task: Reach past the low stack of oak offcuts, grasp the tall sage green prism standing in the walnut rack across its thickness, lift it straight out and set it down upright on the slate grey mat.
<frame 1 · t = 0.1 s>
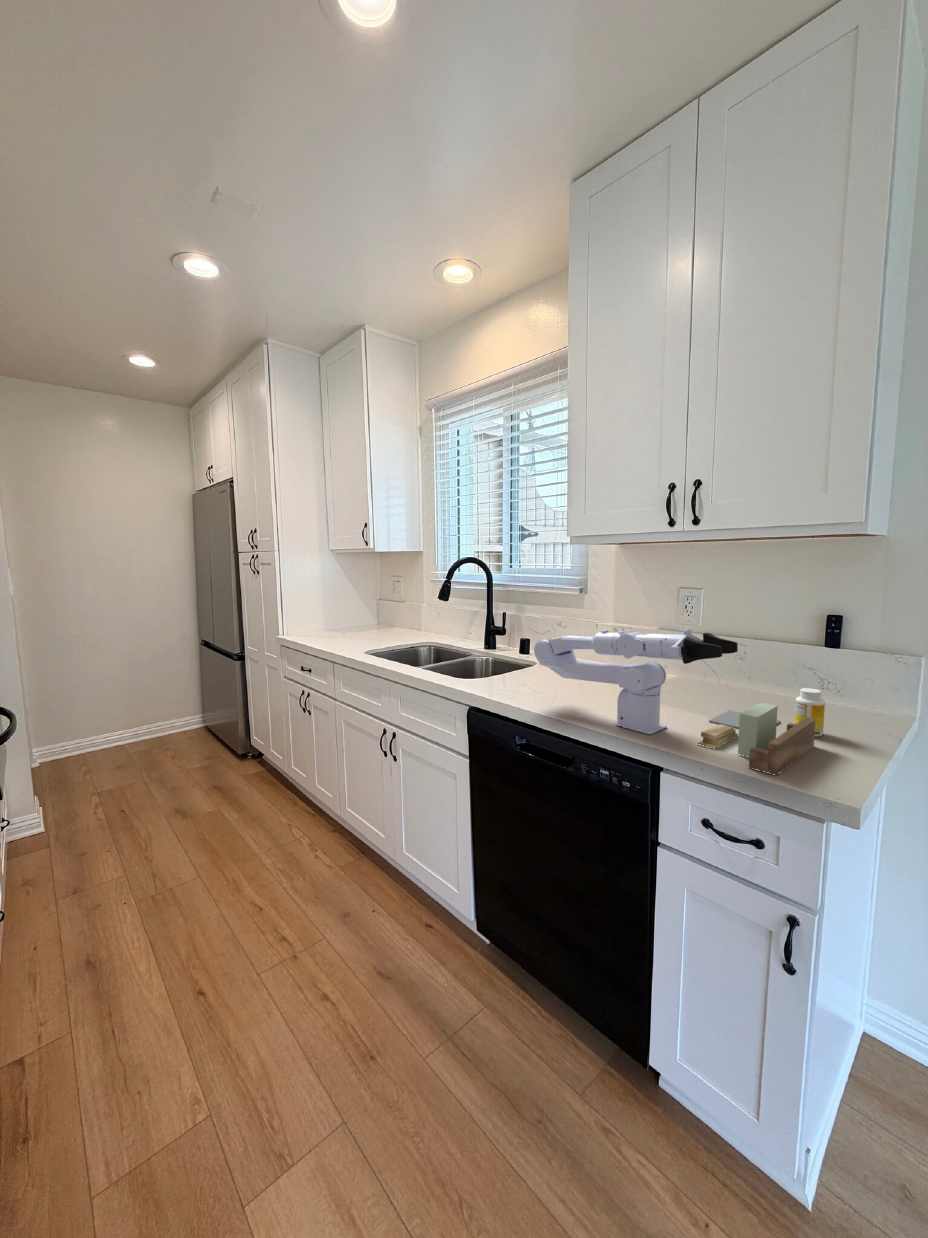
hand: (729, 649, 107), 22 cm above the countertop, tool horizontal, fingers open, 7 cm apart
supplement bottle: (808, 734, 117), on the countertop
slate mat: (744, 722, 126), on the countertop
offcut stack: (718, 742, 114), on the countertop
tall sage green prism: (757, 750, 108), on the countertop
walnut rack: (791, 759, 103), on the countertop
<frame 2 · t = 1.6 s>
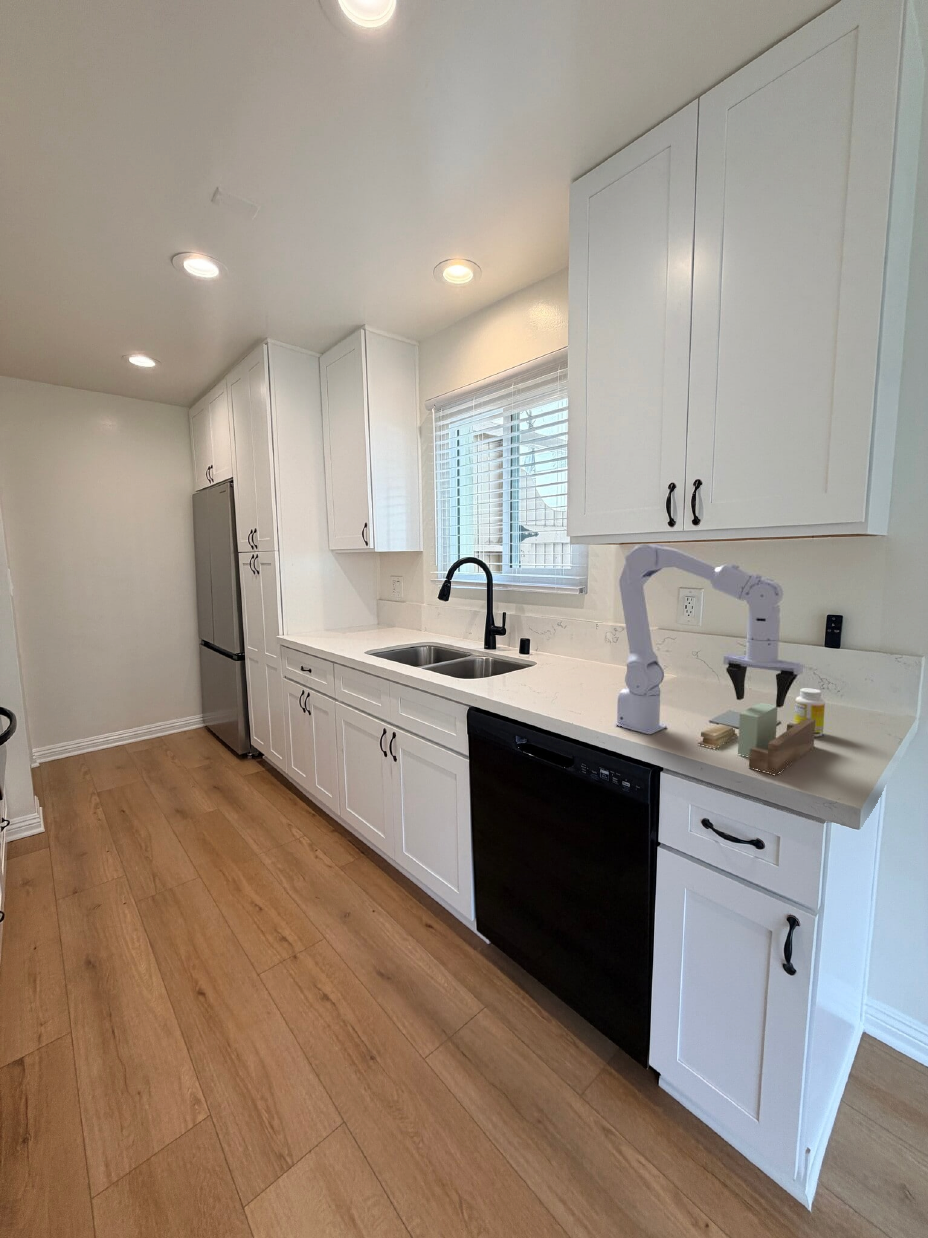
hand: (759, 702, 107), 10 cm above the countertop, tool pointing down, fingers open, 7 cm apart
nothing on the countertop moved.
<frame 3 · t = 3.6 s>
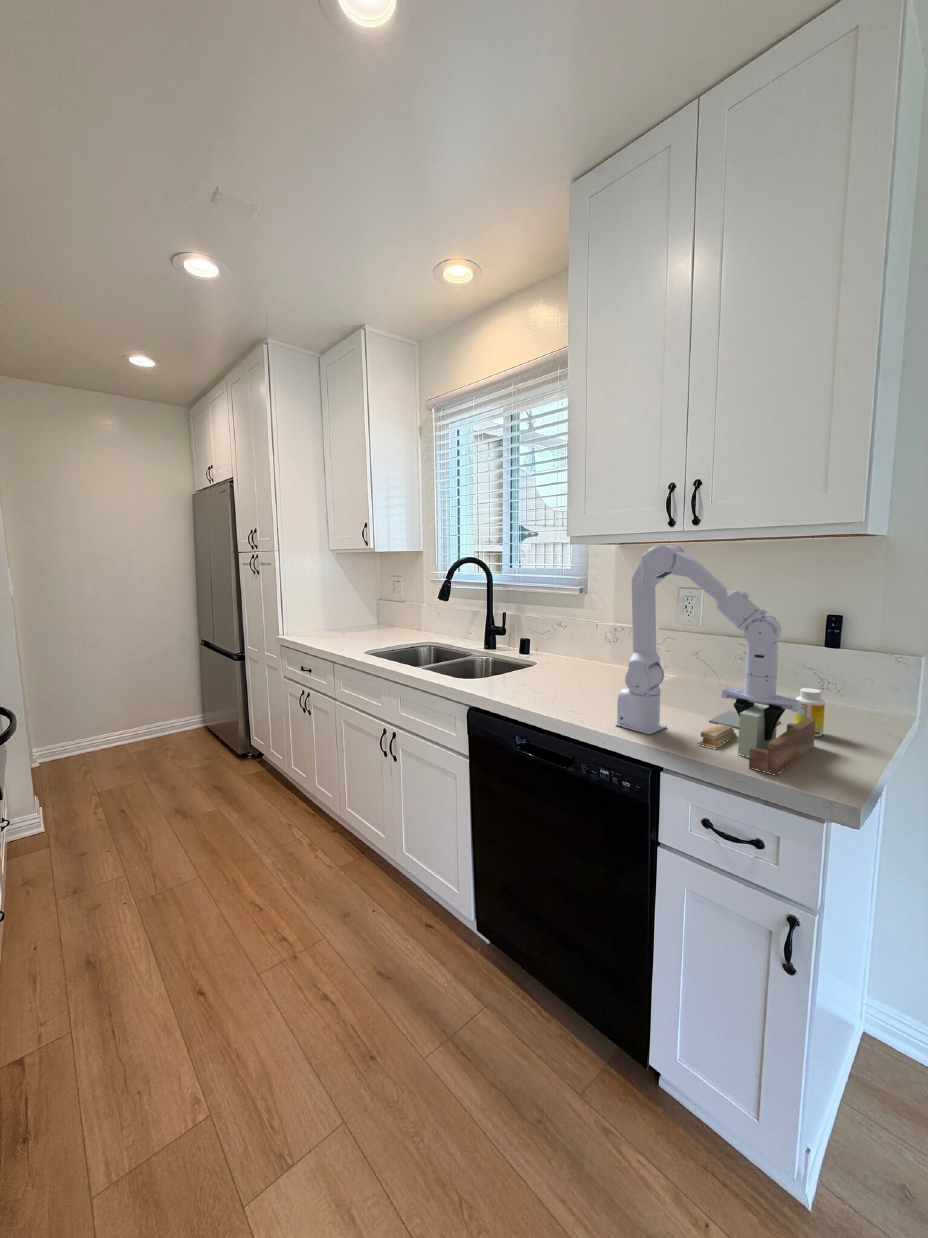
hand: (757, 737, 108), 3 cm above the countertop, tool pointing down, fingers closed on tall sage green prism, 3 cm apart
tall sage green prism: (757, 750, 108), on the countertop, touching gripper
everything else where it was.
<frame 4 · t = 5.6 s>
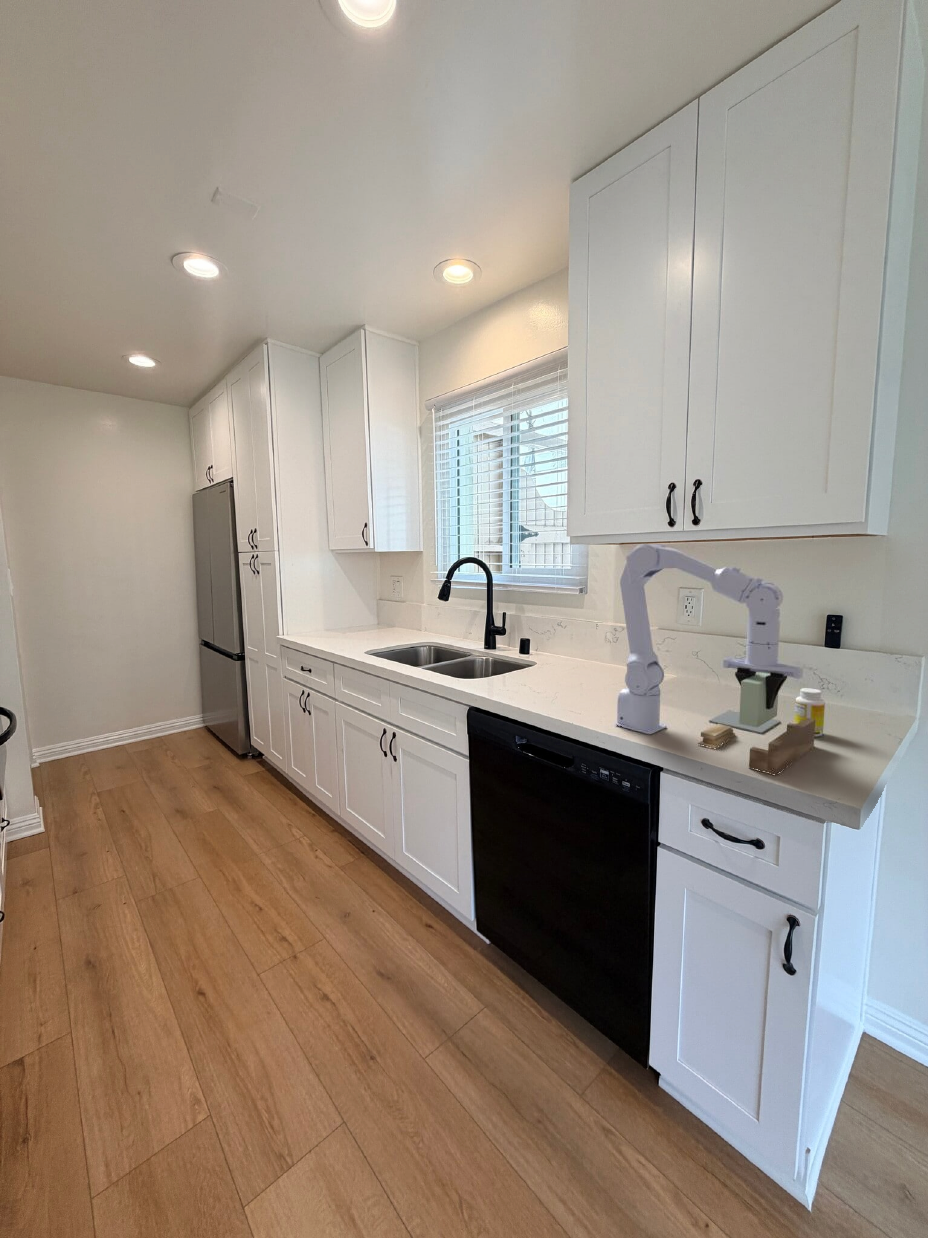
hand: (759, 706, 107), 10 cm above the countertop, tool pointing down, fingers closed on tall sage green prism, 3 cm apart
tall sage green prism: (758, 719, 107), point 7 cm above the countertop, touching gripper
everything else where it was.
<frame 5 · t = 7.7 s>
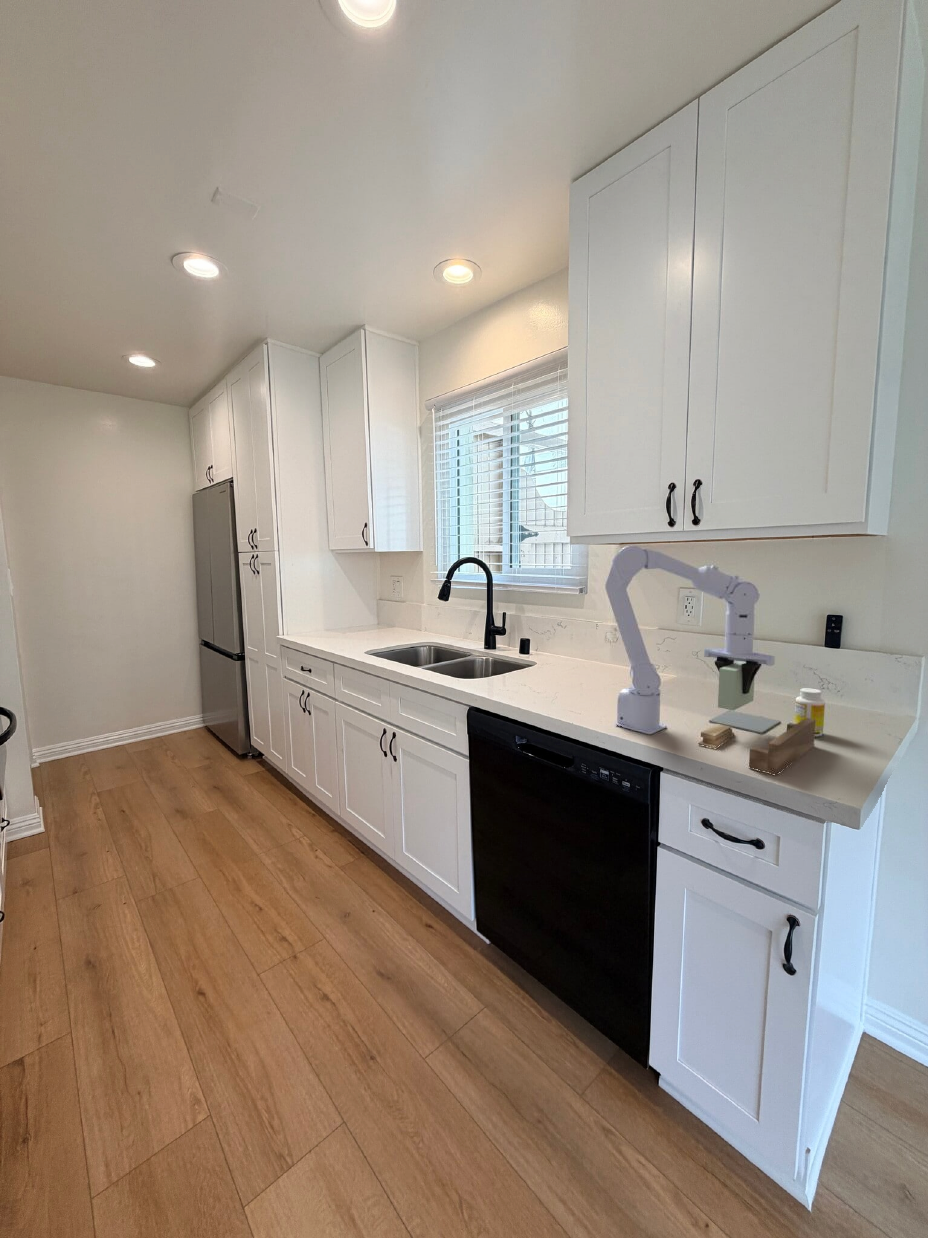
hand: (736, 691, 117), 10 cm above the countertop, tool pointing down, fingers closed on tall sage green prism, 3 cm apart
tall sage green prism: (735, 703, 118), point 7 cm above the countertop, touching gripper
everything else where it was.
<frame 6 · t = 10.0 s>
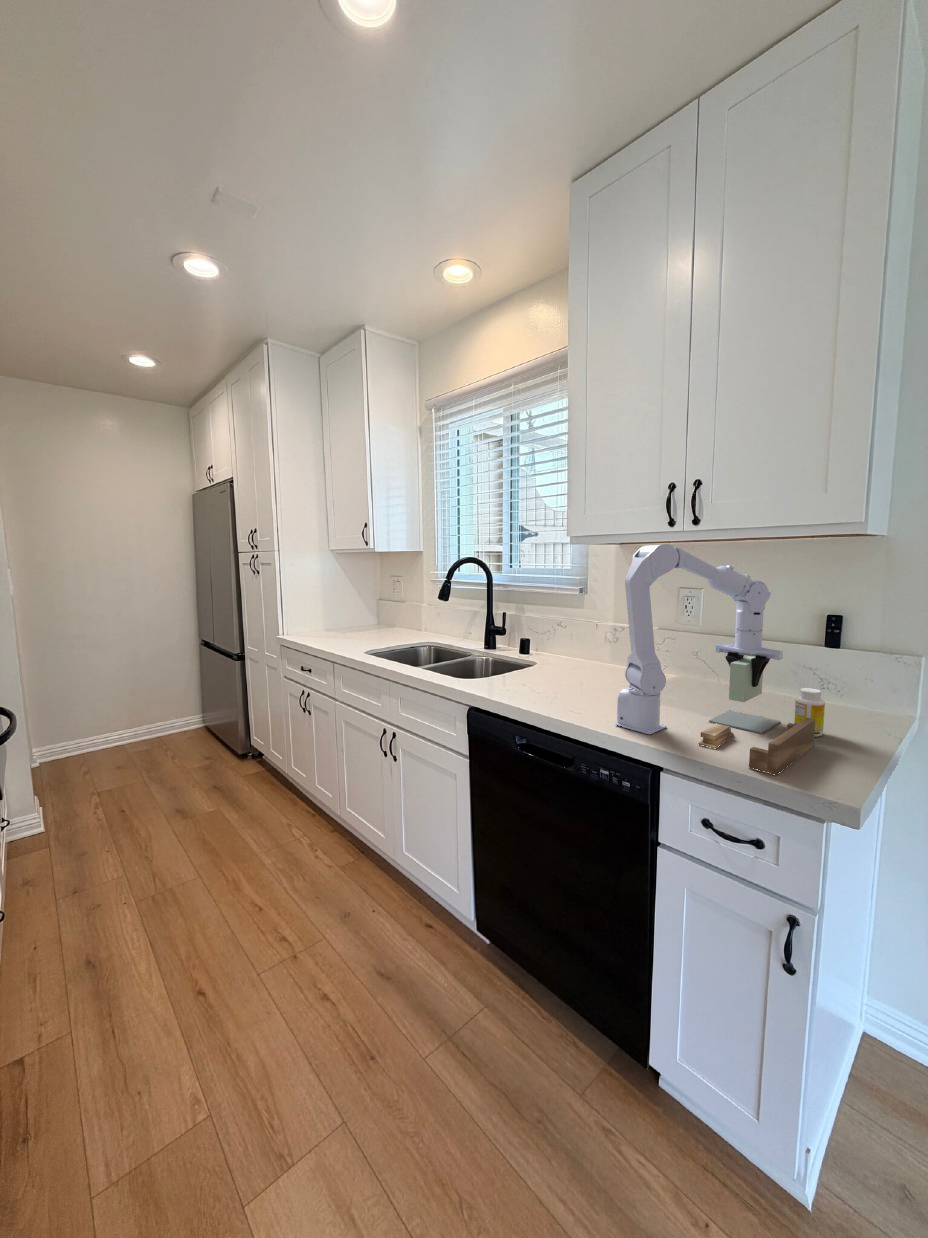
hand: (746, 684, 125), 10 cm above the countertop, tool pointing down, fingers closed on tall sage green prism, 3 cm apart
tall sage green prism: (745, 696, 125), point 7 cm above the countertop, touching gripper
everything else where it was.
when the fingers open (4 cm above the countertop, at t = 11.8 s): tall sage green prism stays where it is, resting on slate mat.
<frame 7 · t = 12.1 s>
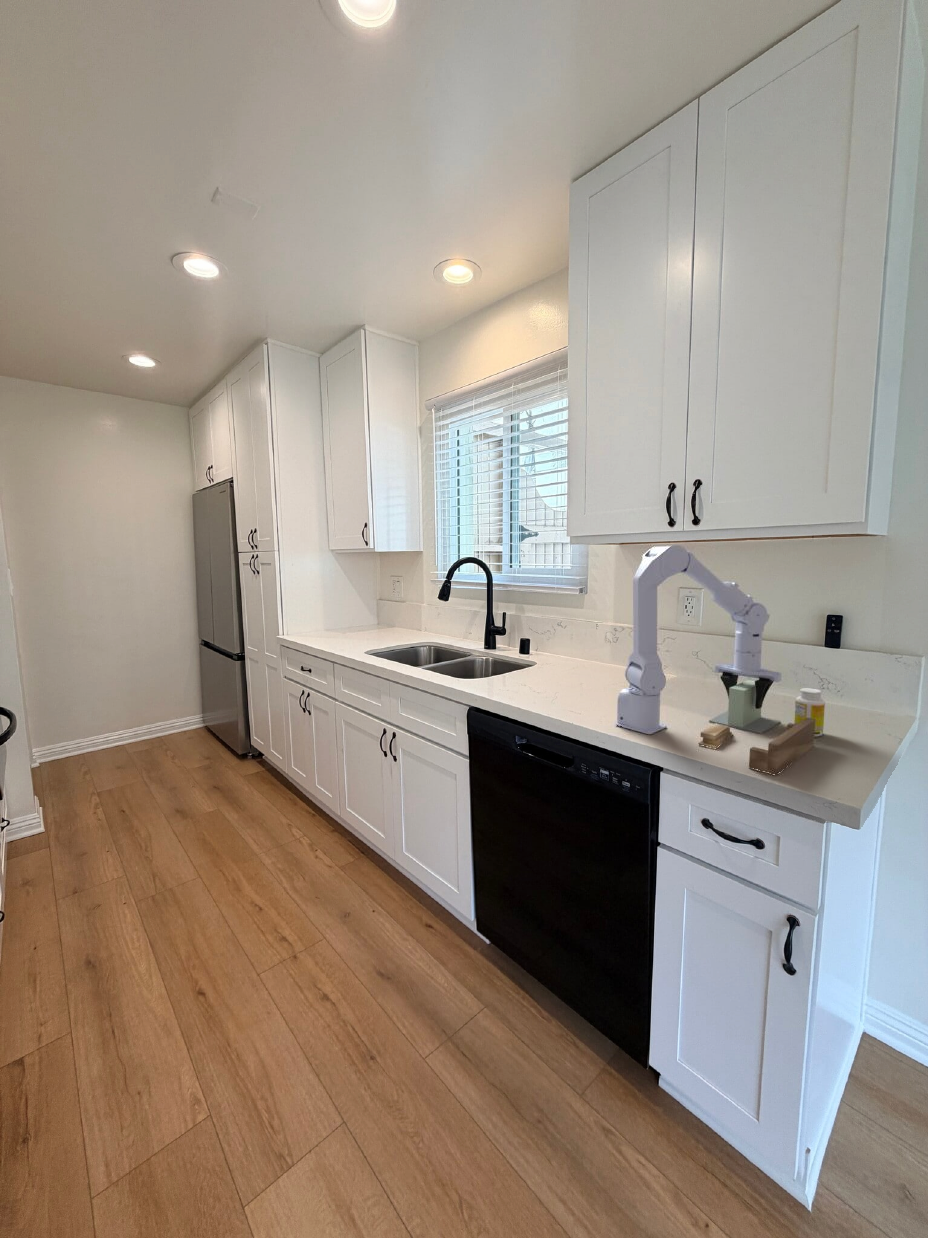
hand: (745, 705, 125), 4 cm above the countertop, tool pointing down, fingers open, 5 cm apart
tall sage green prism: (744, 720, 126), resting on slate mat
everything else where it was.
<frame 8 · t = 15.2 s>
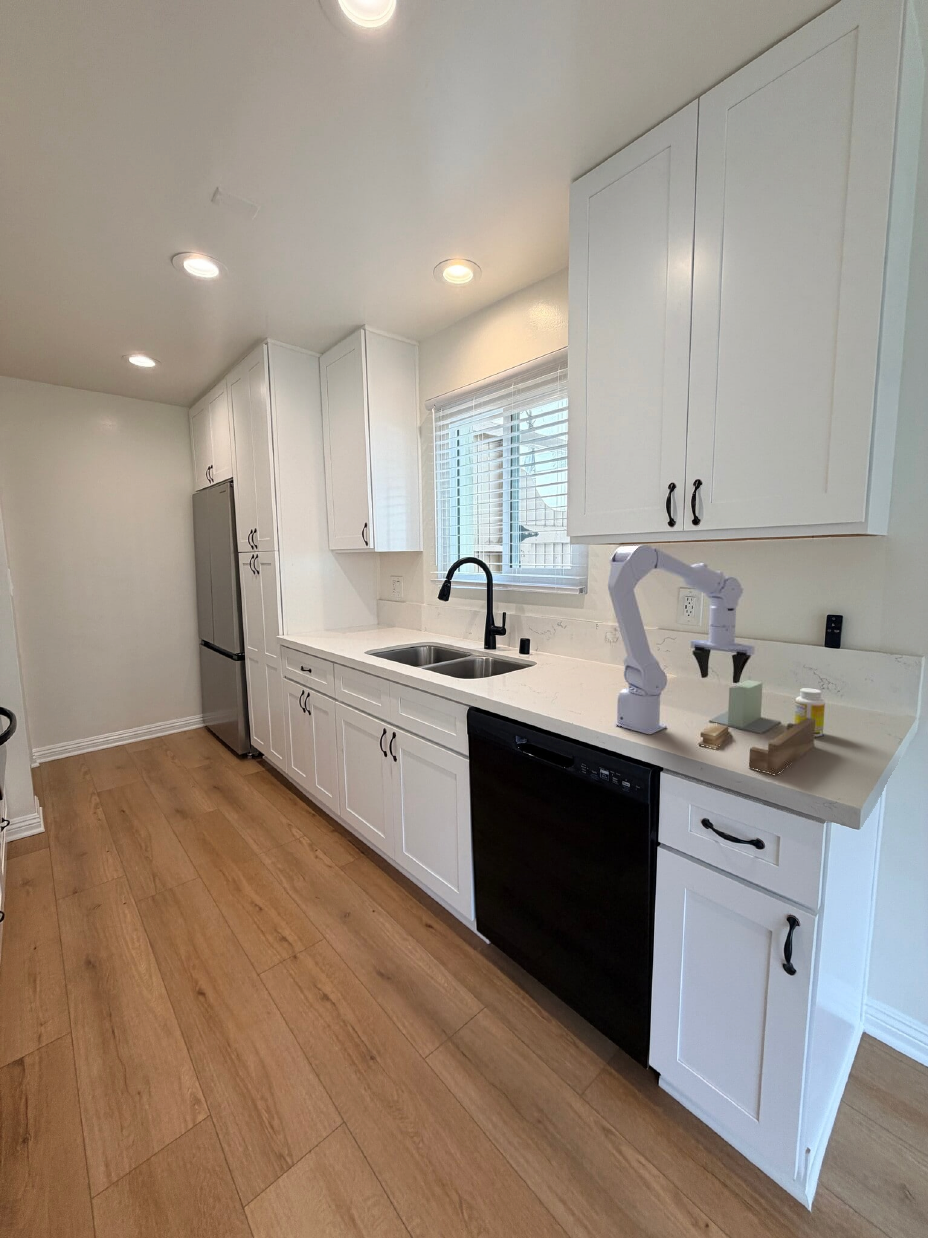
hand: (720, 679, 126), 10 cm above the countertop, tool pointing down, fingers open, 7 cm apart
nothing on the countertop moved.
at the end: tall sage green prism inside the target area (0.0 cm from its centre), resting on slate mat; tall sage green prism tilted 0°; the gripper is holding nothing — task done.
